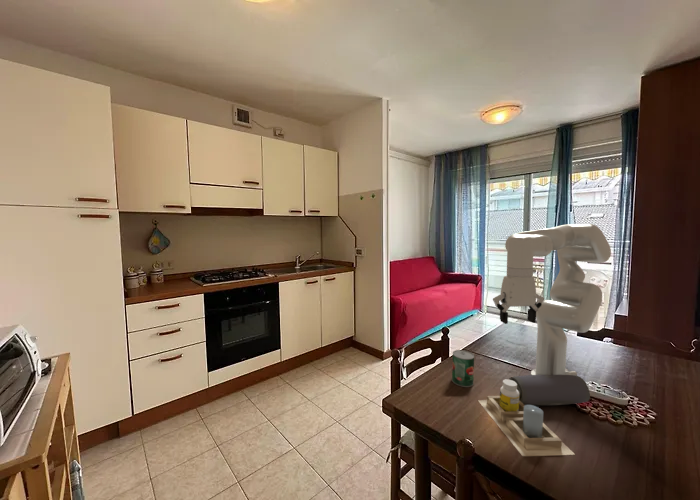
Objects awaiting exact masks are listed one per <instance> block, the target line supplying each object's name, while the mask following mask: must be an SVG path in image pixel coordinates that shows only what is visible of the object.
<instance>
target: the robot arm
mask: <svg viewBox="0 0 700 500" xmlns="http://www.w3.org/2000/svg"><path fill="white" fill-rule="evenodd" d="M504 246H505V247H504V248H505V249H506V251H507V254H506V256H507V257H506V275H504V276H503V279H502V283H501V288H500V294H498V295H497V296H495V297H493V298H492V301H493V303H494V306H495V307H496V308H497V309H498V310H499V320H500V322H502V323H503V324H505V325H507V324H508V322H509V320H508V319H509V312H508V310H509V309H510V308H513V307H514V308H515V307H516V308H517V307H519V308H520V307H528V309H527V321H528V322H531V323H533V324H536V326H537V334H536V335H537V336H536V337H537V338H536V354H535V355H536V357H535V369H532V370H531V371H530V375H575V376H578V373H577V372H576V371H575V370H572V371H571V370H570V371H569V369H568V368H566V366H567V365H566V364H567V346H568V339H567V334H566V332H565V331H564V330H568V331H572V332H576V333H587V332H588V331H590V329H591V328H592V326H593V323H594V321H595V319H596V317H597V315H598V311H599V309H600V307H601V304H602V301H603V291H602V289H601V288H600V287H599V286H598V285H597V284H594V283H590V282H585V278H586V274H585V272H584V270H583V269H582V268H581V267H580V266H581V265H578V263H577V262H581V263H583V262H584V263H593V264H594V263H595V264H602V263H606V262H607V261H609V259H610V258H611V255H612V251H611V246H610V243H609V242H608V240H607V238H606V236H605V234H604V233H603V231H602V229H601V228H600V227H598V226H597V225H595V224H592V223H590V224H589V223H583V224H582V223H581V224H580V223H577V224H575V223H574V224H573V223H569V224H562V225H558V226H553V227H550V228H542V229H536V230H535V229H534V230H529V231H528V230H527V231H520V232H517V233H512V234H510V235H509V236H508V237H507V239H506V241H505V245H504ZM553 251H556V253H557V260H558V265H559V272H558V274H557V276H556V278H555V279H554V282H553V284H552V286H551V288H550V292H549V295H550V298H551V300H550V299H545V297H543V295H542V296H541V295H539V294H537V287H536V281H535V277H534V276H533V274H535V273H536V269H535V268H534V257H536V258H537V257H539V258H540V257H541V258H544V257H547V256H548V255H550V254H551V253H552V252H553Z"/></svg>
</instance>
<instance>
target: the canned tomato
mask: <svg viewBox="0 0 700 500" xmlns="http://www.w3.org/2000/svg"><path fill="white" fill-rule="evenodd" d="M451 360H452V368H451V371H452V372H451V382H453V384H455V385H457V386H458V387H462V388H469V387H473V386H474V378H475V377H474V373H475V355H474V353H473V352H470V351H467V350H464V349H463V350H462V349H457V350H453V352H452V359H451Z"/></svg>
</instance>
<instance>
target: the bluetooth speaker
mask: <svg viewBox="0 0 700 500" xmlns="http://www.w3.org/2000/svg"><path fill="white" fill-rule="evenodd" d="M509 380H512V381H515V382H516V383H517V390H518V391H519V400H520V401H521V402H522V403H523V404H524V405H533V406H565V405H566V406H567V405H573V404H582V403H587V402H589V401H590V397H591V393H590V389H589V386H588V384H587V382H586V380H584V379H583V378H582V377H581V376H578V375H577V376H575V375H531V374H527V375H516V376H515V375H514V376H510V377H509Z"/></svg>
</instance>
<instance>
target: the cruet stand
mask: <svg viewBox="0 0 700 500" xmlns="http://www.w3.org/2000/svg"><path fill="white" fill-rule="evenodd" d="M477 401H478V403H479V404H480V405H481V407H483V410H484V411H485V412H486V413H487V414H488V415H489V417H491V419H492V420H493V421H494V423H495V424H496V426H498V427H499V429H500V430H501V432H502V433H503V434H504V435H505V436H506V438H507V439H508V440H509V441H510V443H511V444H512V445H513V447H515V449H516V450H517V452H518V453H519V454H520V455H521V456H522V457H545V456H546V457H548V456H575V455H576V454H575V453H574V452H573V450H571V449H570V448H569V447H568V446H567V445H566V444H565V443H564V442H563V440H562V439H561V438H560V437H559V436H558V435H556V433H555V432H554V431H552V430H551V428H550V427H548V426H547V425H546V424H545V423H544V422H543V430H542V438H528V437H527V436H526V435H525V433H524V432H523V414H524V406H525V405H524V404H523V403H522V402H521V401H520V400H519V411H513V412H505V411H504V410H503V409H502V408H501V407H500V406H499V405H500V395H487V396H486V399H478V400H477Z"/></svg>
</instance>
